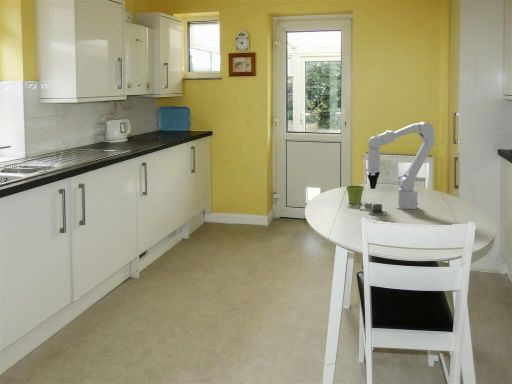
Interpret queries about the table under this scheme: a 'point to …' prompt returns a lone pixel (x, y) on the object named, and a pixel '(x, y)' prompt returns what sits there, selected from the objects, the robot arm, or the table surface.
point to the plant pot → (355, 193)
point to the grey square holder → (367, 206)
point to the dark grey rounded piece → (377, 208)
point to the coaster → (378, 213)
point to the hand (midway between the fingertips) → (373, 187)
